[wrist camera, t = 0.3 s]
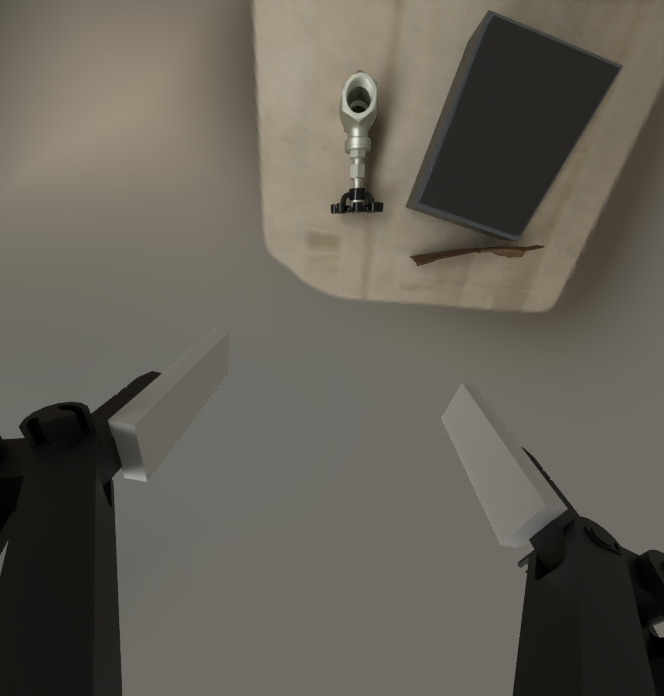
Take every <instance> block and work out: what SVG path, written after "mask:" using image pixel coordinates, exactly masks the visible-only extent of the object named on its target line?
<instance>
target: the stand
mask: <svg viewBox="0 0 664 696" xmlns="http://www.w3.org/2000/svg"><path fill="white" fill-rule="evenodd" d="M622 67H623V66H622V65H619V64H617V63H614V62H612V61H610V60H607V59H605V58H602V57H600V56H598V55H595V54H593V53H590V52H588V51H586V50H583V49H581V48H578V47H576V46H574V45H571V44H569V43H567V42H564V41H562V40H559V39H557V38H555V37H552V36H550V35H547V34H545V33H543V32H540V31H538V30H535V29H533V28H531V27H528V26H526V25H523V24H521V23H519V22H516V21H514V20H512V19H509V18H507V17H504V16H502V15H500V14H497V13H495V12H492V11H490V10H489V11H488V12H487V14H486V15H485V17H484V18H483V20H482V21H481V23H480V24H479V26H478V27H477V29H476V30H475V32H474V33H473V35H472V36H471V38H470V39H469V41H468V43H467V46H466V48H465V51H464V54H463V56H462V59H461V62H460V64H459V67H458V70H457V72H456V75H455V78H454V80H453V83H452V85H451V88H450V91H449V93H448V96H447V99H446V101H445V104H444V107H443V109H442V112H441V115H440V117H439V120H438V123H437V125H436V128H435V130H434V133H433V136H432V138H431V141H430V144H429V146H428V149H427V152H426V154H425V157H424V160H423V162H422V165H421V168H420V170H419V173H418V175H417V178H416V181H415V183H414V186H413V189H412V191H411V194H410V197H409V199H408V202H407V205H406V207H407V208H410V209H413V210H416V211H419V212H421V213H424V214H427V215H430V216H433V217H436V218H439V219H442V220H445V221H448V222H451V223H454V224H456V225H459V226H462V227H465V228H468V229H471V230H474V231H477V232H480V233H483V234H486V235H488V236H491V237H494V238H497V239H502V240H510V241H518V240H519V238H520V237H521V235H522V233H523V232H524V230H525V228H526V227H527V225H528V223H529V222H530V220H531V218H532V217H533V215H534V213H535V212H536V210H537V208H538V207H539V205H540V203H541V202H542V200H543V198H544V197H545V195H546V193H547V192H548V190H549V188H550V187H551V185H552V183H553V182H554V180H555V178H556V177H557V175H558V173H559V172H560V170H561V168H562V167H563V165H564V163H565V162H566V160H567V158H568V157H569V155H570V153H571V152H572V150H573V148H574V147H575V145H576V143H577V142H578V140H579V138H580V137H581V135H582V133H583V132H584V130H585V128H586V127H587V125H588V123H589V122H590V120H591V118H592V117H593V115H594V113H595V112H596V110H597V108H598V107H599V105H600V103H601V102H602V100H603V98H604V97H605V95H606V93H607V92H608V90H609V88H610V87H611V85H612V83H613V82H614V80H615V78H616V77H617V75H618V73H619V72H620V70H621V69H622Z"/></svg>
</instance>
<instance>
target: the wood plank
mask: <svg viewBox="0 0 664 696" xmlns="http://www.w3.org/2000/svg"><path fill="white" fill-rule="evenodd" d="M543 247H545V246H538V245H535V246H530V247H490V248H473V249H459V250H453V251H445V252H440V253H433V254H425V255H417V256H412V257H410V258H413V260H414V261H415V262H416V264H417V266H420V265H424V264H427V263H430V262H433V261H435V260H438V259H442V258H447V257H452V256H457V255H462V254H468V253H472V252H478V253H481V252H486V253H487V252H493V253H494V254H496V255H501V256H506V257H522V256H523V255H524V253H525V252H526V251H529V250H534V249H539V248H543Z"/></svg>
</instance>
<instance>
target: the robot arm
mask: <svg viewBox="0 0 664 696" xmlns="http://www.w3.org/2000/svg"><path fill="white" fill-rule="evenodd" d="M228 342H229V331H224V330H220V329H215V328H214V329H213V330H212V331H211V332H209V333H208V334H207V335H206V336H205V337H204V338H202V339H201V340H200V341H199V342H198V343H197V344H196V345H194V346H193V347H192V348H191V349H190V350H189V351H188V352H186V353H185V354H184V355H183V356H182V357H180V358H179V359H178V360H177V361H176V362H175V363H174V364H172V365H171V366H170V367H169V368H168V369H167V370H165V371H164V372H163V373H158V372H153V371H151V372H149V373H147V374H144V375H142V376H140V377H138V378H136V379H135V380H134V381H133V382H131V383H130V384H129V385H127V387H125V388H124V389H122V390H121V391H120V392H119V393H118V394H117V395H115V396H113V397H112V398H111V399H109V400H108V401H107V402H106V403H104V404H103V405H102V406H101V407H99V408H98V409H97V410H95V411H94V412H93V413H92V414H90V411H89V408H88V406H86V405H84V404H82V403H77V402H65V403H58V404H54V405H50V406H47V407H44V408H42V409H40V410H38V411H35V412H33V413H32V414H31V415H29V416H28V417H26V418H25V419H24V420H23V422H22V423H21V424H20V426H19V428H20V430H21V432H22V434H23V435H24V437H25V438H19V439H2V438H1V436H0V554H1V552H2V551H3V549H4V547H5V545H6V543H7V541H8V540H9V541H8V545H7V550H6V554H5V558H4V563H3V567H2V571H1V575H0V696H122V678H121V653H120V629H119V606H118V582H117V581H118V580H117V557H116V534H115V533H116V532H115V509H114V485H113V484H114V483H113V480H112V477H113V476H114V475H115V474H116V473H117V472H118V471H119V469H120V468H122V471H123V475H124V478H129V479H135V480H140V481H146V482H147V481H148V480H149V479H150V477H151V476H152V475H153V473H154V472H155V471H156V469H157V468H158V467H159V465H160V464H161V462H162V461H163V460H164V458H165V457H166V456H167V454H168V453H169V452H170V450H171V449H172V448H173V446H174V445H175V443H176V442H177V441H178V440H179V438H180V437H181V436H182V434H183V433H184V432H185V430H186V429H187V428H188V426H189V425H190V423H191V422H192V421H193V419H194V418H195V417H196V415H197V414H198V413H199V411H200V410H201V409H202V407H203V406H204V405H205V403H206V402H207V401H208V399H209V398H210V397H211V395H212V394H213V393H214V391H215V390H216V389H217V387H218V386H219V385H220V383H221V382H222V380H223V379H224V378H225V376H226V375H227V374H228V344H229V343H228ZM441 419H442V421H443V423H444V425H445V427H446V430H447V432H448V434H449V436H450V438H451V440H452V442H453V445H454V447H455V449H456V451H457V453H458V455H459V457H460V460H461V462H462V464H463V466H464V468H465V470H466V472H467V474H468V476H469V479H470V481H471V483H472V485H473V487H474V489H475V491H476V493H477V496H478V498H479V500H480V502H481V504H482V506H483V508H484V511H485V513H486V515H487V517H488V519H489V521H490V523H491V526H492V528H493V530H494V532H495V534H496V536H497V538H498V540H499V542H500V544H501V545H504V546H510V547H515V548H520V547H521V546H523V545H524V544H525V543H526V542H528V541H529V540H530V542H531V544H532V545H533V547H534V549H535V550H533V551H532V552H531V553H529V554H528V555H527V556H526V557H525V558H523V559H522V560H520V561H519V563H518V566H519V567H520V568H521V567H522V566H524V565H525V564H528V570H526V571H525V572H526V573H527V579H526V588H525V596H524V605H523V613H522V621H521V630H520V638H519V647H518V655H517V663H516V672H515V680H514V689H513V696H664V637H662V638H660V637H659V636H658V634H657V633H656V631H655V629H654V627H653V625H656V624H659V623H661V622H663V621H664V553H662V552H660V551H657V550H649V551H647V552H645V553H643V554H642V555H637V554H635V553H633V552H631V551H629V550H627V549H625V548H623V547H621V546H620V545H619V543H618V542H617V541H616V540H615V539H614V538H613V537H612V536H611V535H610V534H609V533H608V532H607V531H606V530H605V529H604V528H602V527H601V526H600V525H598V524H597V523H595V522H594V521H591V520H590V519H588V518H585V517H580V516H579V515H578V513H577V512H576V511H575V509H574V508H573V507H572V506H571V504H570V503H569V502H568V501H567V499H566V498H565V497H564V495H563V494H562V493H561V491H560V490H559V489H558V488H557V486H556V485H555V484H554V482H553V481H552V480H550V477H549V476H548V475H547V473H546V472H545V471H543V468H542V467H541V466H540V464H539V463H538V462H537V460H535V458H534V457H533V456H532V455H531V454H530V453H529V452H527V451H526V450H525V449H524V448H523V447H521V446H520V445H519V444H518V442H517V441H516V440H515V438H514V437H513V436H512V434H511V433H510V432H509V430H508V429H507V428H506V426H505V425H504V424H503V422H502V421H501V420H500V419H499V417H498V416H497V414H496V413H495V412H494V411H493V410H492V408H491V407H490V405H489V404H488V403H487V401H486V400H485V399H484V397H483V396H482V395H481V393H480V392H479V391H478V390H477V388H476V387H475V386H473V385H468V384H464V383H462V384H461V386H460V387H459V389H458V391H457V392H456V394H455V396H454V397H453V399H452V401H451V402H450V404H449V406H448V407H447V409H446V411H445V412H444V414H443V416H442V418H441Z"/></svg>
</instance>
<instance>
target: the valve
mask: <svg viewBox="0 0 664 696" xmlns="http://www.w3.org/2000/svg"><path fill="white" fill-rule="evenodd" d="M376 93H377V82H376V81H375V80H374V79H373V78H371V77H370V76H369V75H367V74H366V73H365V72H363V71H361V70H358V71H357V72H356V73H355V74H353V75H352V76H351V77H350V78H349V79H348V80H347V81H346V82H345V83H344V84H343V85H342V97H341V100H340V105H339V115H340V120H341V123H342V125H343V127H344V131H345V132H346V133H348V139H346V140H345V152H346V153H348V154H351V159H352V160H353V165H351V171H350V179H352V180H353V188H352V189H349V192H348V193H345V194H344V195H343V196H342V198H341V203H337V204H336V205H335V204H332V205H331V213H332V214H336V213H338V214H344V213H347V212H352V213H360V212H367V213H372V212H383V203H379V202H374V198H373V196H372V194H371V193H369V192H365V188H361V179H364V173H365V164H362V160H363V159H364V158H365V153H367V152H369V151H370V150H371V139H370V138H368V131H369V130H371V127H372V125H373V123H374V121H375V119H376V116H377V110H378V101H377V97H376ZM355 106H361V107H363V108H364V109H365V110H366V111H364V112H362V113H355V112H353V111H352V110H351V109H352V108H353V107H355ZM365 197H367V198H368V205H363V203H364V202H365ZM347 198H349V203H351V206H346V199H347ZM336 206H337V208H336Z"/></svg>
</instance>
